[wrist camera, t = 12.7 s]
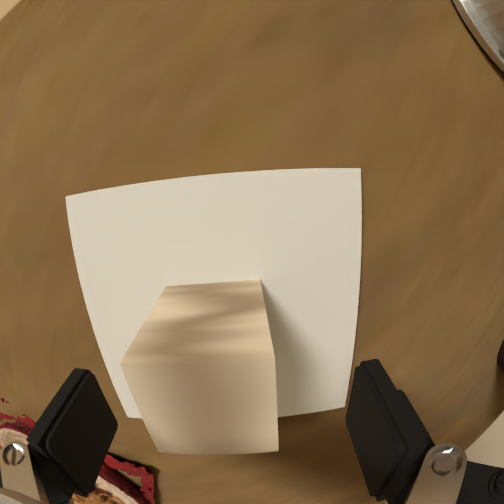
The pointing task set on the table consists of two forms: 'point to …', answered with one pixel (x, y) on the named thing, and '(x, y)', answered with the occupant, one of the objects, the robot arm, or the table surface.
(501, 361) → the coffee mug
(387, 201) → the table surface
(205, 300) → the birch block
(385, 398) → the robot arm
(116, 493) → the plate with food
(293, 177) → the white mat
